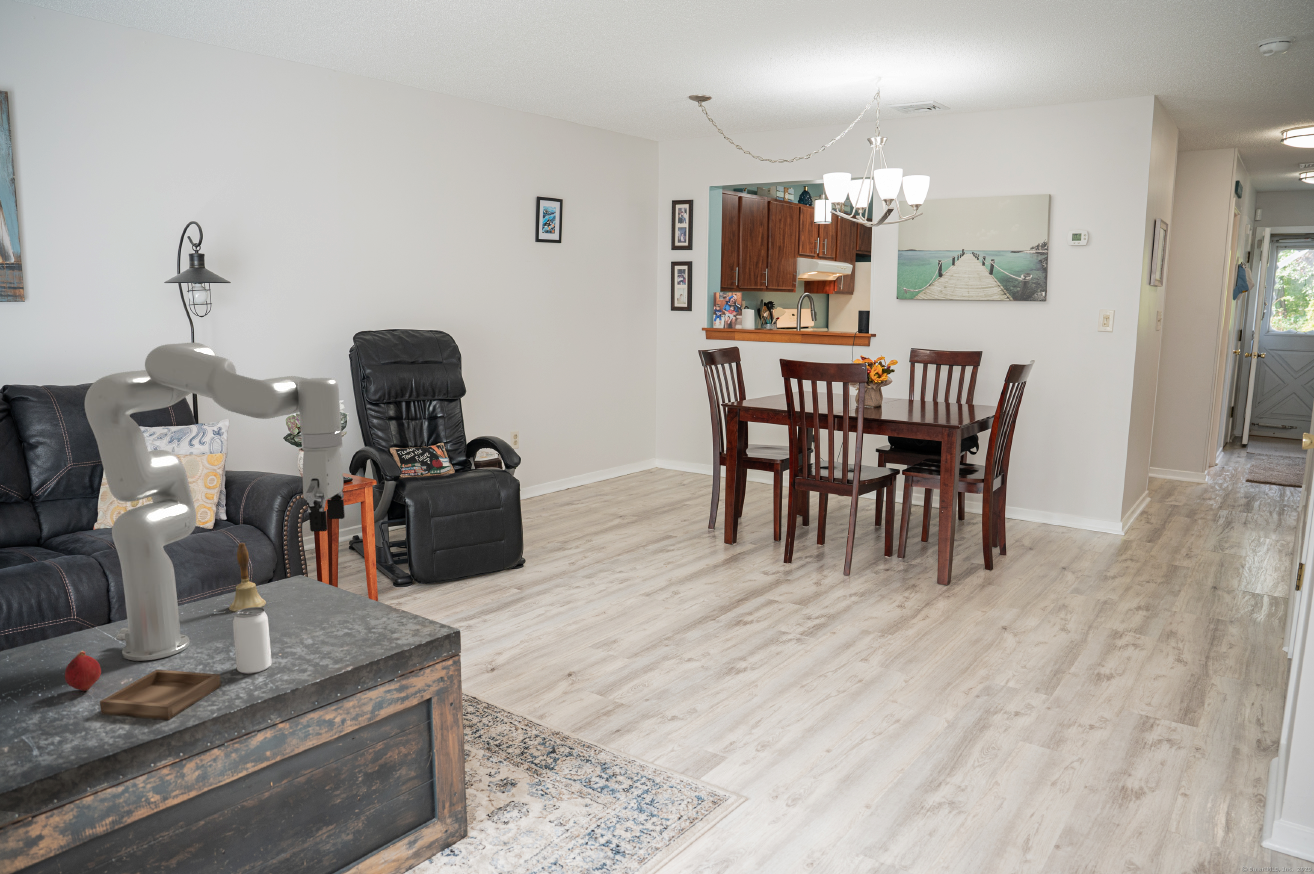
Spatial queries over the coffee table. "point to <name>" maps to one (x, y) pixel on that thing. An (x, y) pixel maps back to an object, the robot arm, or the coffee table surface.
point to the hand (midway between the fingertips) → (328, 524)
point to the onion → (82, 672)
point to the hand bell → (245, 585)
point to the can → (252, 640)
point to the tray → (160, 694)
